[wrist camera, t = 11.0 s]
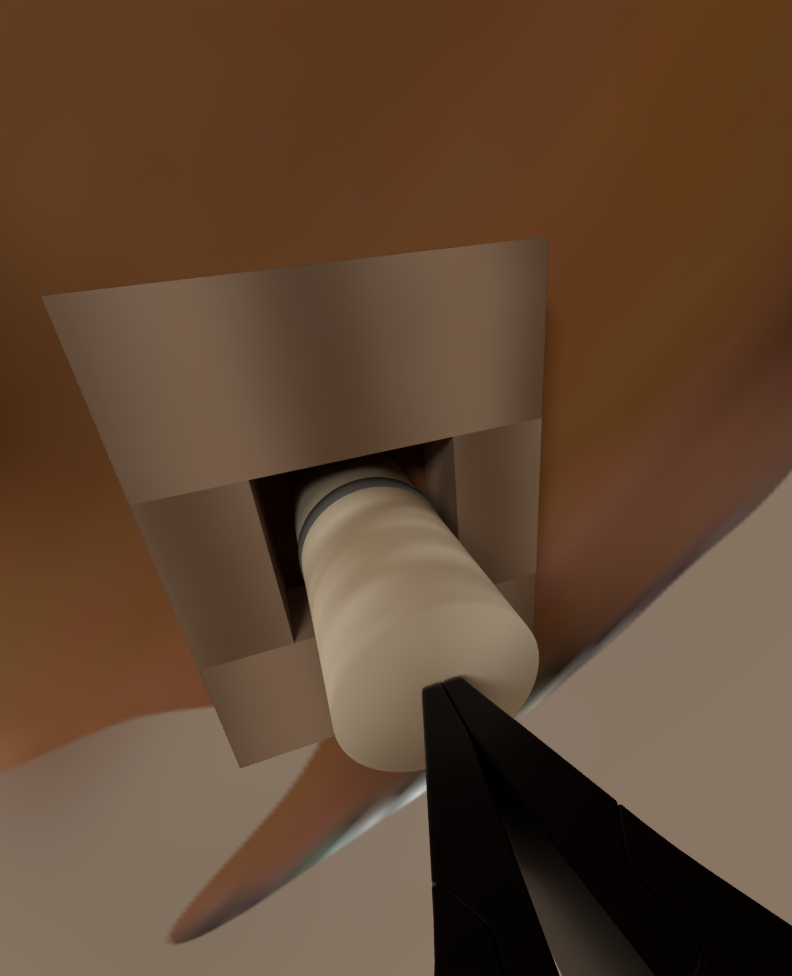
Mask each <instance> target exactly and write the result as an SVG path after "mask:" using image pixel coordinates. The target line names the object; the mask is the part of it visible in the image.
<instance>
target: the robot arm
mask: <svg viewBox="0 0 792 976" xmlns="http://www.w3.org/2000/svg"><path fill="white" fill-rule="evenodd" d="M422 710H423V729H424V747H425V766H426V784H427V801H428V820H429V838H430V856H431V876H432V886H433V887H432V899H433V919H434V954H435V956H434V957H435V967H434V976H559V973H558V970H557V967H556V965H555V962H554V959H555V961H556V963H557V965H558V968H559V970H560V971H561V974H562V975H563V976H792V926H791V925H790V924H788V923H787V922H785V921H784V920H782V919H781V918H779V917H778V916H776V915H775V914H774V913H772V912H771V911H769V910H768V909H766V908H764V907H763V906H762V905H760V904H759V903H757V902H756V901H754V900H752V899H751V898H750V897H748V896H747V895H745V894H744V893H742V892H741V891H739V890H738V889H736V888H735V887H733V886H732V885H730V884H729V883H727V882H726V881H724V880H723V879H721V878H720V877H718V876H717V875H715V874H714V873H712V872H711V871H710V870H708V869H707V868H705V867H704V866H702V865H701V864H699V863H698V862H697V861H695V860H694V859H692V858H691V857H690V856H688V855H687V854H685V853H684V852H682V851H681V850H679V849H678V848H677V847H675V846H674V845H673V844H671V843H670V842H668V841H667V840H666V839H665V838H663V837H662V836H661V835H659V834H658V833H657V832H656V831H654V830H653V829H651V828H650V827H649V826H648V825H646V824H645V823H644V822H642V821H641V820H640V819H639V818H637V817H636V816H635V815H634V814H632V813H631V812H630V811H629V810H628V809H626V808H625V807H624V806H623V805H618V804H617V801H616V800H615V799H614V798H612V797H611V796H610V795H609V794H607V793H606V792H605V791H604V790H602V789H601V788H600V787H599V786H597V785H596V784H595V783H593V782H592V781H591V780H590V779H588V778H587V777H586V776H585V775H583V774H582V773H581V772H580V771H578V770H577V769H576V768H575V767H573V766H572V765H571V764H570V763H568V762H567V761H566V760H564V759H563V758H562V757H561V756H560V755H558V754H557V753H556V752H554V751H553V750H552V749H551V748H550V747H548V746H547V745H546V744H545V743H543V742H542V741H541V740H539V739H538V738H537V737H536V736H535V735H533V734H532V733H531V732H530V731H528V730H527V729H526V728H525V727H523V726H522V725H521V724H520V723H518V722H517V721H516V720H515V719H513V718H512V717H511V716H510V715H508V714H507V713H506V712H505V711H503V710H502V709H501V708H500V707H498V706H497V705H496V704H495V703H493V702H492V701H491V700H490V699H488V698H487V697H486V696H485V695H483V694H482V693H481V692H480V691H478V690H477V689H476V688H475V687H473V686H472V685H471V684H470V683H468V682H467V681H466V680H465V679H463V678H462V677H455V678H452V679H449V680H446V681H443V682H442V684H439V683H437V684H434V685H431V686H428V687H425V688H423V689H422ZM551 953H552V954H551ZM552 955H553V957H554V959H553V957H552Z"/></svg>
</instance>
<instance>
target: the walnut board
mask: <svg viewBox="0 0 792 976" xmlns="http://www.w3.org/2000/svg"><path fill="white" fill-rule="evenodd" d="M548 244H549V237H541V238H532V239H524V240H515V241H507V242H498V243H490V244H481V245H473V246H464V247H456V248H447V249H439V250H430V251H422V252H413V253H405V254H396V255H387V256H379V257H370V258H362V259H353V260H345V261H336V262H328V263H319V264H311V265H302V266H294V267H285V268H277V269H268V270H260V271H251V272H243V273H234V274H226V275H217V276H209V277H200V278H192V279H183V280H175V281H166V282H158V283H149V284H141V285H132V286H124V287H115V288H107V289H98V290H90V291H81V292H73V293H64V294H56V295H47V296H41V297H42V300H43V302H44V304H45V307H46V309H47V312H48V314H49V316H50V319H51V321H52V323H53V326H54V328H55V330H56V333H57V335H58V338H59V340H60V342H61V345H62V347H63V349H64V352H65V354H66V357H67V359H68V361H69V364H70V366H71V368H72V371H73V373H74V375H75V378H76V380H77V383H78V385H79V387H80V390H81V392H82V394H83V397H84V399H85V402H86V404H87V406H88V409H89V411H90V413H91V416H92V418H93V421H94V423H95V425H96V428H97V430H98V432H99V435H100V437H101V439H102V442H103V444H104V447H105V449H106V451H107V454H108V456H109V458H110V461H111V463H112V466H113V468H114V470H115V473H116V475H117V477H118V480H119V482H120V485H121V487H122V489H123V492H124V494H125V496H126V499H127V501H128V503H129V506H130V508H131V511H132V513H133V515H134V518H135V520H136V522H137V525H138V527H139V530H140V532H141V534H142V537H143V539H144V541H145V544H146V546H147V549H148V551H149V553H150V556H151V558H152V560H153V563H154V565H155V567H156V570H157V572H158V575H159V577H160V579H161V582H162V584H163V586H164V589H165V591H166V594H167V596H168V598H169V601H170V603H171V605H172V608H173V610H174V613H175V615H176V617H177V620H178V622H179V624H180V627H181V629H182V631H183V634H184V636H185V639H186V641H187V643H188V646H189V648H190V650H191V653H192V655H193V658H194V660H195V662H196V665H197V667H198V669H199V672H200V674H201V677H202V679H203V681H204V684H205V686H206V688H207V691H208V693H209V695H210V698H211V700H212V703H213V705H214V707H215V710H216V712H217V714H218V717H219V719H220V722H221V724H222V726H223V729H224V731H225V733H226V736H227V738H228V740H229V743H230V745H231V748H232V750H233V752H234V755H235V757H236V759H237V762H238V764H239V767H240V768H243V767H245V766H248V765H251V764H254V763H257V762H260V761H263V760H266V759H269V758H272V757H275V756H278V755H281V754H284V753H286V752H289V751H292V750H295V749H298V748H301V747H304V746H307V745H310V744H313V743H316V742H319V741H322V740H324V739H327V738H330V737H333V736H335V734H334V730H333V725H332V720H331V715H330V709H329V704H328V699H327V694H326V689H325V683H324V678H323V673H322V668H321V663H320V658H319V652H318V647H317V642H316V637H315V632H314V626H313V621H312V616H311V611H310V606H309V601H308V595H307V590H306V585H301V586H297V587H293V588H290V589H287V587H286V584H285V580H284V576H283V572H282V569H281V565H280V561H279V558H278V554H277V550H276V547H275V543H274V539H273V535H272V532H271V528H270V524H269V521H268V517H267V513H266V510H265V506H264V502H263V498H262V495H261V491H260V487H259V484H258V480H257V478H261V477H266V476H271V475H275V474H280V473H285V472H289V471H294V470H299V469H304V468H308V467H313V466H318V465H322V464H327V463H332V462H337V461H341V460H346V459H351V458H355V457H360V456H365V455H369V454H374V453H379V452H384V451H388V450H393V449H398V448H402V447H407V446H412V445H417V444H421V443H423V453H424V464H425V476H426V487H427V499H428V501H429V502H430V503H431V505H432V506H433V507H434V509H435V510H436V512H437V513H438V515H439V517H440V518H441V520H442V521H443V522H444V523H445V525H446V526H447V527H448V528H449V530H450V531H451V532H452V533H453V535H454V536H455V537H456V538H457V539H458V541H459V542H460V543H461V544H462V546H463V547H464V548H465V549H466V551H467V552H468V553H469V554H470V556H471V557H472V558H473V559H474V561H475V562H476V563H477V564H478V565H479V567H480V568H481V569H482V570H483V572H484V573H485V574H486V575H487V577H488V578H489V579H490V580H491V582H492V583H493V584H494V585H495V587H496V588H497V589H498V590H499V591H500V593H501V594H502V595H503V596H504V598H505V599H506V600H507V601H508V603H509V604H510V605H511V606H512V608H513V609H514V610H515V611H516V613H517V614H518V615H519V616H520V617H521V619H522V620H523V621H524V622H525V624H526V625H527V626H528V628H529V629H530V631H531V632H532V633H533V635H534V616H535V589H536V563H537V536H538V509H539V483H540V456H541V430H542V403H543V377H544V350H545V323H546V297H547V270H548Z"/></svg>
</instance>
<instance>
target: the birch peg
mask: <svg viewBox="0 0 792 976" xmlns="http://www.w3.org/2000/svg"><path fill="white" fill-rule="evenodd" d="M291 512H292V518H293V523H294V528H295V533H296V538H297V543H298V557H299V563H300V568H301V573H302V576H303V579H304V581H305V585H306V590H307V595H308V601H309V606H310V611H311V616H312V621H313V626H314V632H315V637H316V642H317V647H318V652H319V658H320V663H321V668H322V673H323V678H324V683H325V689H326V694H327V699H328V704H329V709H330V715H331V720H332V725H333V730H334V734H335V736H336V739H337V741H338V743H339V745H340V746H341V748H342V749H343V750H344V751H345V752H346V754H347V755H348V756H349V757H351V758H352V759H354V760H355V761H356V762H358V763H360V764H362V765H364V766H366V767H369V768H372V769H375V770H380V771H386V772H413V771H420V770H425V769H426V766H425V747H424V729H423V710H422V689H423V688H425V687H428V686H431V685H434V684H437V683H439V684H442V682H443V681H446V680H449V679H452V678H455V677H462V678H463V679H465V680H466V681H467V682H468V683H470V684H471V685H472V686H473V687H475V688H476V689H477V690H478V691H480V692H481V693H482V694H483V695H485V696H486V697H487V698H488V699H490V700H491V701H492V702H493V703H495V704H496V705H497V706H498V707H500V708H501V709H502V710H503V711H505V712H506V713H507V714H508V715H510V716H511V717H512V718H514V717H515V715H516V714H517V713H518V712H519V711H520V709H521V708H522V706H523V705H524V703H525V702H526V700H527V698H528V696H529V695H530V693H531V691H532V688H533V686H534V683H535V680H536V677H537V673H538V666H539V651H538V647H537V642H536V640H535V638H534V635H533V633H532V632H531V631H530V629H529V628H528V626H527V625H526V624H525V622H524V621H523V620H522V619H521V617H520V616H519V615H518V614H517V613H516V611H515V610H514V609H513V608H512V606H511V605H510V604H509V603H508V601H507V600H506V599H505V598H504V596H503V595H502V594H501V593H500V591H499V590H498V589H497V588H496V587H495V585H494V584H493V583H492V582H491V580H490V579H489V578H488V577H487V575H486V574H485V573H484V572H483V570H482V569H481V568H480V567H479V565H478V564H477V563H476V562H475V561H474V559H473V558H472V557H471V556H470V554H469V553H468V552H467V551H466V549H465V548H464V547H463V546H462V544H461V543H460V542H459V541H458V539H457V538H456V537H455V536H454V535H453V533H452V532H451V531H450V530H449V528H448V527H447V526H446V525H445V523H444V522H443V521H442V520H441V518H440V517H439V515H438V513H437V512H436V510H435V509H434V507H433V506H432V505H431V503H430V502H429V501H428V500H427V499H426V497H425V496H424V495H423V494H422V493H421V492H420V491H418V490H417V489H416V487H415V486H414V485H413V484H412V482H411V481H410V480H409V479H408V478H407V476H406V475H405V474H404V473H403V471H402V470H401V469H400V468H399V466H398V465H397V464H396V463H395V462H394V461H393V460H392V459H391V458H390V457H388V456H387V455H385V454H384V453H382V452H379V453H374V454H369V455H365V456H360V457H355V458H351V459H346V460H341V461H337V462H332V463H327V464H322V465H318V466H313V467H308V468H305V469H304V471H303V472H302V473H301V475H300V476H299V478H298V480H297V482H296V484H295V486H294V489H293V493H292V498H291Z"/></svg>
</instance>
